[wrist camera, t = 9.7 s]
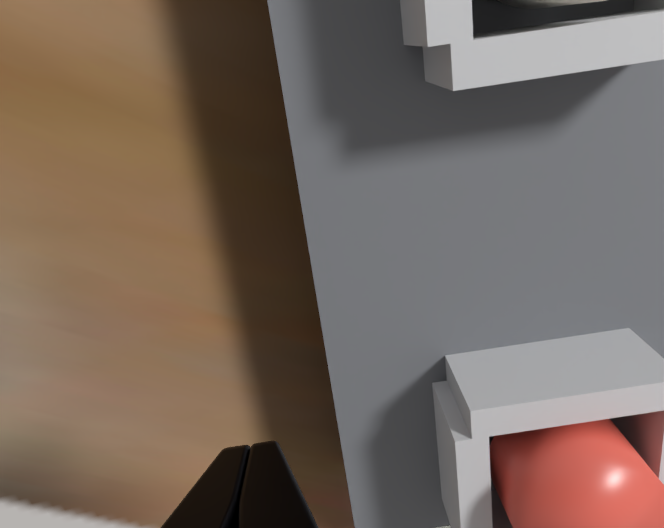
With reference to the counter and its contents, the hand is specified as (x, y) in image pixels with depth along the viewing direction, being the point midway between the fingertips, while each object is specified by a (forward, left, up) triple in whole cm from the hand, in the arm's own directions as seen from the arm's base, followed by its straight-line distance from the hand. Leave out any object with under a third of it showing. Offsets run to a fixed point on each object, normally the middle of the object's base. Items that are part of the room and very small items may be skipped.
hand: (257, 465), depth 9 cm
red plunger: (+8, -8, -8) cm, 14 cm away
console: (+8, 0, -13) cm, 15 cm away
